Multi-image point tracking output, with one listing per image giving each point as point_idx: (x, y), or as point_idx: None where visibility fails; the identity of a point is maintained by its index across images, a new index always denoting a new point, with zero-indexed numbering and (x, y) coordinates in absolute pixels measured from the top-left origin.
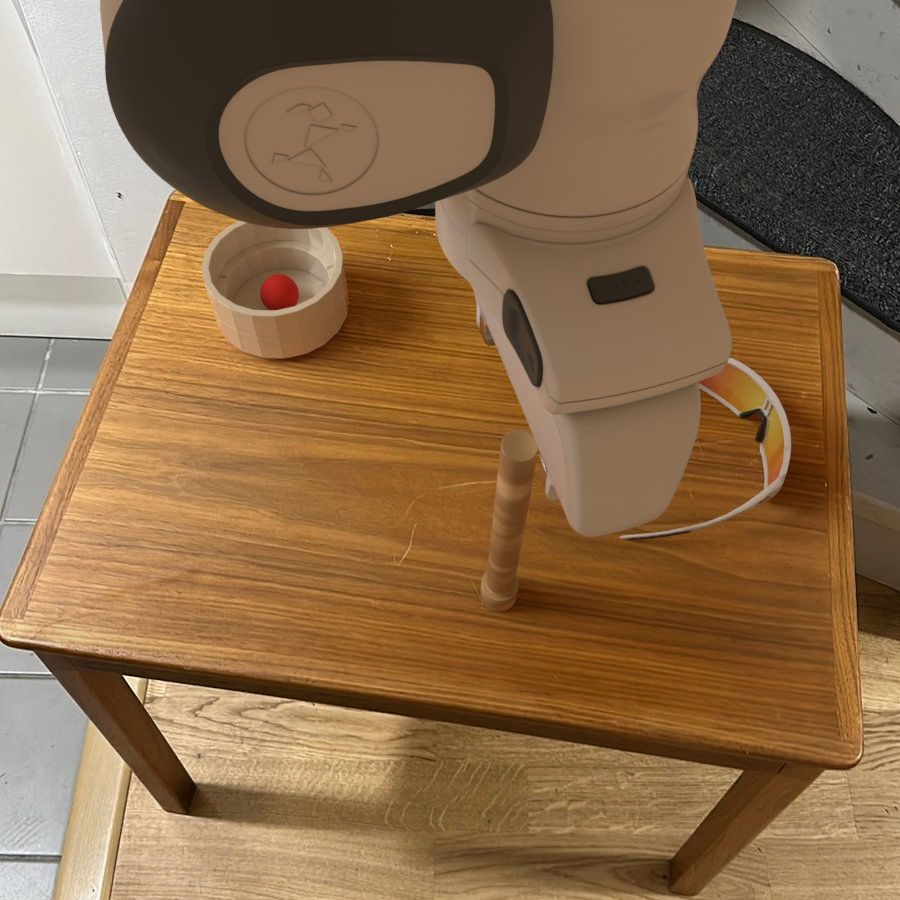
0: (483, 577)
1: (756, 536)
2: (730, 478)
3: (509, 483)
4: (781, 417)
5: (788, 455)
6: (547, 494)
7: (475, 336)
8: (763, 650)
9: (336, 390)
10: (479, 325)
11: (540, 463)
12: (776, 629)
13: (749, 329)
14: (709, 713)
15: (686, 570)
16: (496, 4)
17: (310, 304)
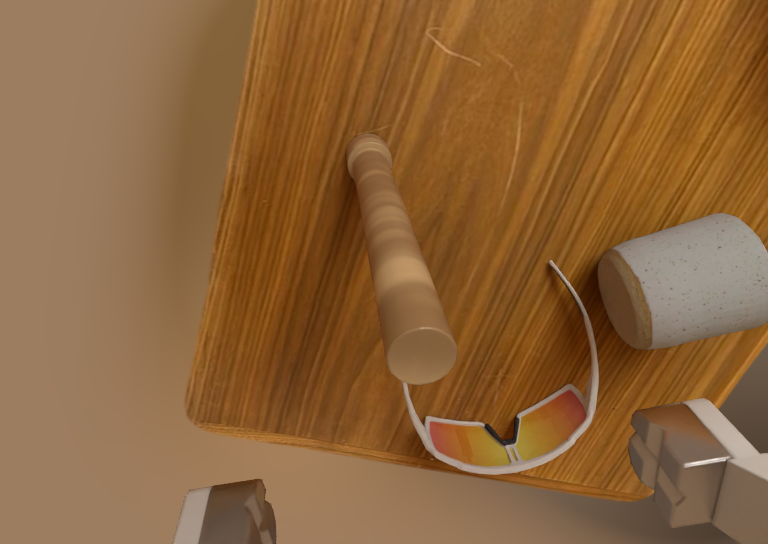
0: (380, 146)
1: (392, 401)
2: (456, 394)
3: (383, 296)
4: (493, 470)
5: (452, 464)
6: (187, 505)
7: (717, 179)
8: (280, 385)
9: None
10: (696, 416)
11: (242, 532)
12: (299, 398)
13: (608, 438)
14: (220, 333)
15: (367, 341)
16: None
17: None
